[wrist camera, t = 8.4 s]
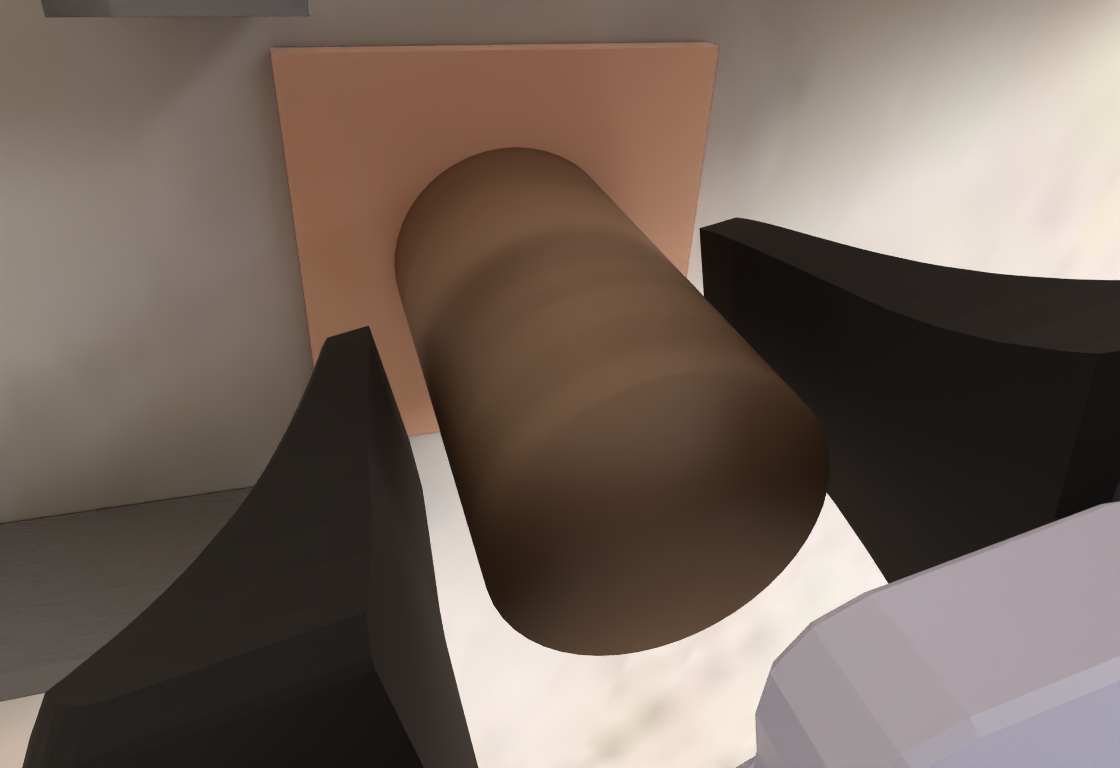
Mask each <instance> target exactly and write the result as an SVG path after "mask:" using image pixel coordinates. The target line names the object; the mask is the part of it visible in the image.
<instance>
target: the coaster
mask: <svg viewBox="0 0 1120 768" xmlns="http://www.w3.org/2000/svg"><path fill="white" fill-rule="evenodd" d="M718 52H719V47H718V46H716V45H714V44H712V43H710V42H669V43H590V44H512V45H434V46H356V47H277V48H270V53H271V60H272V68H273V75H274V82H275V89H276V97H277V104H278V111H279V118H280V126H281V133H282V140H283V147H284V155H285V162H286V169H287V176H288V184H289V191H290V198H291V205H292V212H293V220H294V227H295V234H296V241H297V249H298V256H299V263H300V270H301V278H302V285H303V292H304V299H305V307H306V314H307V321H308V328H309V336H310V343H311V350H312V357H313V365H314V367H315V365H316V362H317V359H318V356H319V354H320V351H321V348H322V346H323V344H324V342H325V340H326V339H327V338H328V337H331V336H335V335H338V334H341V333H345V332H348V331H352V330H355V329H358V328H362V327H365V326H369V327H370V330H371V333H372V336H373V339H374V341H375V344H376V347H377V350H378V353H379V355H380V358H381V361H382V364H383V367H384V370H385V372H386V375H387V378H388V381H389V384H390V386H391V389H392V392H393V395H394V398H395V401H396V403H397V406H398V409H399V412H400V415H401V418H402V420H403V423H404V426H405V429H406V432H407V435H408V436H414V435H422V434H429V433H436V432H440V430H439V426H438V423H437V420H436V416H435V413H434V409H433V406H432V403H431V399H430V396H429V393H428V389H427V386H426V382H425V379H424V376H423V372H422V369H421V366H420V362H419V359H418V355H417V352H416V349H415V345H414V342H413V338H412V335H411V332H410V328H409V325H408V322H407V318H406V315H405V311H404V308H403V305H402V301H401V298H400V295H399V291H398V287H397V283H396V277H395V266H394V263H395V249H396V244H397V239H398V235H399V232H400V229H401V226H402V223H403V221H404V219H405V217H406V215H407V213H408V211H409V209H410V207H411V206H412V204H413V203H414V202H415V200H416V199H417V197H418V196H419V194H420V193H421V192H422V191H423V190H424V189H425V188H426V187H427V186H428V184H429V183H430V182H432V181H433V180H434V179H435V178H436V177H437V176H439V175H440V174H441V173H442V172H444V171H445V170H447V169H448V168H450V167H451V166H453V165H454V164H456V163H458V162H460V161H462V160H464V159H466V158H468V157H470V156H473V155H476V154H479V153H482V152H485V151H490V150H495V149H500V148H512V147H521V148H533V149H538V150H543V151H547V152H550V153H553V154H556V155H558V156H561V157H563V158H565V159H567V160H568V161H570V162H572V163H574V164H575V165H577V166H578V167H579V168H581V169H582V170H583V171H585V172H586V173H587V174H588V175H589V176H590V177H591V178H592V179H593V180H594V181H595V182H596V183H597V184H598V186H599V187H600V188H601V189H602V190H603V191H604V192H605V193H606V194H607V195H608V196H609V197H610V198H611V199H612V200H613V201H614V202H615V203H616V204H617V206H618V207H619V208H620V209H621V210H622V211H623V212H624V213H625V214H626V215H627V216H628V217H629V218H630V219H631V220H632V221H633V222H634V223H635V225H636V226H637V227H638V228H639V229H640V230H641V231H642V232H643V233H644V234H645V235H646V236H647V237H648V238H649V239H650V240H651V241H652V242H653V244H654V245H655V246H656V247H657V248H658V249H659V250H660V251H661V252H662V253H663V254H664V255H665V256H666V257H667V258H668V259H669V260H670V261H671V262H672V264H673V265H674V266H675V267H676V268H677V269H678V270H679V271H680V272H681V273H682V274H683V275H684V276H685V277H686V278H687V271H688V264H689V257H690V250H691V243H692V236H693V229H694V222H695V214H696V207H697V200H698V193H699V186H700V179H701V172H702V165H703V158H704V151H705V144H706V137H707V130H708V123H709V116H710V109H711V101H712V94H713V87H714V80H715V73H716V66H717V59H718Z"/></svg>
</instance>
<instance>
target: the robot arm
mask: <svg viewBox="0 0 1120 768" xmlns="http://www.w3.org/2000/svg"><path fill="white" fill-rule="evenodd" d="M700 243H701V258H702V273H703V288H704V297H705V298H706V299H707V300H708V302H709V303H710V304H711V305H712V306H713V307H714V308H715V309H716V310H717V311H718V312H719V313H720V314H721V315H722V316H723V317H724V318H725V319H726V320H727V322H728V323H729V324H730V325H731V326H732V327H733V328H734V329H735V330H736V331H737V332H738V333H739V334H740V335H741V336H742V337H743V338H744V339H745V341H746V342H747V343H748V344H749V345H750V346H751V347H752V348H753V349H754V350H755V351H756V352H757V353H758V354H759V355H760V356H761V357H762V358H763V360H764V361H765V362H766V363H767V364H768V365H769V366H770V367H771V368H772V369H773V370H774V371H775V372H776V373H777V374H778V375H779V376H780V377H781V379H782V380H783V381H784V382H785V383H786V384H787V385H788V386H789V387H790V388H791V389H792V390H793V391H794V392H795V393H796V394H797V395H798V396H799V397H800V399H801V400H802V401H803V402H804V403H805V404H806V405H807V406H808V407H809V408H810V409H811V411H812V412H813V414H814V415H815V417H816V418H817V420H818V421H819V423H820V425H821V428H822V430H823V432H824V435H825V437H826V441H827V446H828V450H829V461H830V474H829V482H828V489H827V494H828V495H829V496H830V497H831V499H832V500H833V501H834V503H835V504H836V505H837V507H838V508H839V510H840V511H841V513H842V514H843V516H844V517H845V519H846V520H847V521H848V523H849V524H850V526H851V527H852V529H853V530H854V532H855V533H856V535H857V536H858V538H859V539H860V540H861V542H862V543H863V545H864V546H865V548H866V549H867V551H868V552H869V554H870V555H871V557H872V559H873V560H874V562H875V563H876V565H877V566H878V568H879V569H880V571H881V573H882V574H883V576H884V577H885V579H886V580H887V582H888V583H889V584H887V585H884V586H881V587H879V588H876V589H873V590H871V591H868V592H865V593H863V594H861V595H859V596H857V597H856V598H854V599H852V600H850V601H848V602H847V603H845V604H843V605H841V606H840V607H838V608H836V609H834V610H832V611H831V612H829V613H827V614H825V615H823V616H822V617H820V618H818V619H816V620H814V621H813V622H811V623H810V624H809V625H808V626H807V627H806V628H805V629H804V630H803V631H802V632H801V634H800V635H799V636H798V637H797V638H796V639H795V640H794V641H793V642H792V643H791V644H790V645H789V646H788V647H787V648H786V649H785V650H784V651H783V652H782V653H781V654H780V655H779V656H778V658H777V659H776V660H775V661H774V662H773V664H772V667H771V670H770V673H769V675H768V678H767V681H766V684H765V687H764V690H763V693H762V696H761V699H760V702H759V705H758V707H757V710H756V713H755V716H756V744H757V752H756V756H755V757H753V758H751V759H749V760H748V761H746V762H744V763H743V764H741V765H739V766H738V767H736V768H1120V280H1078V279H1059V278H1044V277H1029V276H1015V275H1005V274H995V273H987V272H980V271H973V270H966V269H959V268H951V267H944V266H939V265H933V264H927V263H922V262H917V261H912V260H908V259H903V258H898V257H894V256H889V255H884V254H880V253H876V252H872V251H868V250H863V249H859V248H855V247H852V246H848V245H844V244H840V243H837V242H833V241H829V240H825V239H822V238H818V237H815V236H811V235H808V234H804V233H800V232H797V231H793V230H790V229H786V228H782V227H779V226H775V225H771V224H767V223H763V222H759V221H754V220H749V219H743V218H733V219H730V220H726V221H723V222H720V223H716V224H713V225H709V226H706V227H703V228H700ZM22 768H478V765H477V761H476V758H475V754H474V750H473V746H472V742H471V738H470V734H469V731H468V727H467V723H466V719H465V715H464V711H463V707H462V704H461V700H460V696H459V692H458V688H457V684H456V680H455V676H454V672H453V668H452V664H451V660H450V656H449V652H448V648H447V644H446V640H445V636H444V630H443V625H442V620H441V615H440V609H439V602H438V595H437V588H436V580H435V573H434V566H433V559H432V552H431V545H430V538H429V531H428V524H427V517H426V510H425V503H424V497H423V490H422V486H421V482H420V478H419V475H418V471H417V467H416V463H415V460H414V456H413V453H412V449H411V445H410V442H409V438H408V435H407V432H406V429H405V426H404V423H403V420H402V418H401V415H400V412H399V409H398V406H397V403H396V401H395V398H394V395H393V392H392V389H391V386H390V384H389V381H388V378H387V375H386V372H385V370H384V367H383V364H382V361H381V358H380V355H379V353H378V350H377V347H376V344H375V341H374V339H373V336H372V333H371V330H370V327H369V326H365V327H362V328H358V329H355V330H352V331H348V332H345V333H341V334H338V335H335V336H331V337H328V338H327V339H326V340H325V342H324V344H323V346H322V348H321V351H320V354H319V356H318V359H317V362H316V365H315V367H314V370H313V373H312V375H311V378H310V380H309V383H308V385H307V388H306V390H305V392H304V395H303V397H302V399H301V401H300V403H299V406H298V408H297V410H296V412H295V414H294V416H293V419H292V421H291V423H290V425H289V427H288V429H287V431H286V433H285V435H284V436H283V438H282V440H281V442H280V444H279V445H278V447H277V449H276V451H275V453H274V455H273V456H272V458H271V460H270V462H269V464H268V465H267V467H266V469H265V470H264V472H263V474H262V475H261V477H260V478H259V480H258V482H257V483H256V485H255V486H254V488H253V489H252V490H251V492H250V493H249V495H248V496H247V497H246V499H245V500H244V501H243V503H242V504H241V506H240V507H239V508H238V510H237V511H236V512H235V514H234V515H233V516H232V517H231V519H230V520H229V521H228V522H227V523H226V525H225V526H224V527H223V528H222V529H221V530H220V531H219V533H218V534H217V535H216V536H215V537H214V538H213V540H212V541H211V542H210V543H209V544H208V545H207V547H206V548H205V549H204V550H203V551H202V552H201V554H200V555H199V556H198V557H197V558H196V559H195V561H194V562H193V563H192V564H191V565H190V566H189V567H188V568H187V569H186V570H185V571H184V572H183V573H182V574H181V575H180V576H179V577H178V578H177V579H176V580H175V581H174V582H173V583H172V584H171V585H170V586H169V587H168V588H167V589H166V590H165V591H164V592H163V593H162V594H161V595H160V596H159V597H158V598H157V599H156V600H155V601H154V602H153V603H152V604H151V605H150V606H148V607H147V608H146V609H145V610H144V611H143V612H142V613H141V614H140V615H139V616H138V617H137V618H136V619H134V620H133V621H132V622H131V623H130V624H129V625H128V626H127V627H125V628H124V629H123V630H122V631H121V632H120V633H119V634H117V635H116V636H115V637H114V638H112V639H111V640H110V641H109V642H108V643H106V644H105V645H104V646H103V647H101V648H100V649H99V650H98V651H96V652H95V653H94V654H93V655H92V656H90V657H89V658H88V659H87V660H85V661H84V662H83V663H82V664H81V665H79V666H78V667H77V668H76V669H74V670H73V671H72V672H71V673H69V674H68V675H67V676H66V677H65V678H63V679H62V680H61V681H59V682H58V683H57V684H55V685H54V686H53V687H52V688H50V689H49V690H48V691H46V692H45V695H44V698H43V701H42V704H41V707H40V710H39V713H38V716H37V719H36V722H35V725H34V727H33V730H32V733H31V736H30V740H29V744H28V747H27V751H26V755H25V759H24V763H23V767H22Z"/></svg>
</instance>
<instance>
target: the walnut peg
mask: <svg viewBox="0 0 1120 768" xmlns="http://www.w3.org/2000/svg"><path fill="white" fill-rule="evenodd" d="M394 266H395V277H396V283H397V287H398V291H399V295H400V298H401V301H402V305H403V308H404V311H405V315H406V318H407V322H408V325H409V328H410V332H411V335H412V338H413V342H414V345H415V349H416V352H417V355H418V359H419V362H420V366H421V369H422V372H423V376H424V379H425V382H426V386H427V389H428V393H429V396H430V399H431V403H432V406H433V409H434V413H435V416H436V420H437V423H438V426H439V430H440V433H441V436H442V440H443V443H444V447H445V450H446V453H447V457H448V460H449V463H450V467H451V470H452V474H453V477H454V480H455V484H456V487H457V490H458V494H459V497H460V501H461V504H462V507H463V511H464V514H465V518H466V521H467V524H468V528H469V531H470V534H471V538H472V541H473V545H474V548H475V551H476V555H477V558H478V561H479V565H480V568H481V572H482V575H483V578H484V582H485V585H486V588H487V591H488V593H489V596H490V598H491V600H492V602H493V605H494V606H495V608H496V609H497V610H498V612H499V613H500V615H501V616H502V618H503V619H504V620H505V621H506V622H507V623H508V624H509V625H510V626H511V627H512V628H513V629H515V630H516V631H517V632H519V633H520V634H522V635H523V636H525V637H526V638H528V639H529V640H532V641H534V642H536V643H538V644H540V645H542V646H544V647H548V648H551V649H554V650H557V651H561V652H566V653H572V654H578V655H593V656H605V655H621V654H628V653H635V652H640V651H644V650H649V649H653V648H657V647H661V646H664V645H667V644H670V643H673V642H676V641H679V640H681V639H684V638H686V637H689V636H691V635H693V634H696V633H698V632H700V631H702V630H704V629H706V628H708V627H710V626H712V625H714V624H716V623H718V622H719V621H721V620H722V619H724V618H726V617H727V616H729V615H731V614H732V613H734V612H735V611H737V610H738V609H740V608H741V607H742V606H744V605H745V604H747V603H748V602H749V601H751V600H752V599H753V598H754V597H756V596H757V595H758V594H759V593H760V592H761V591H763V590H764V589H765V588H766V587H767V586H768V585H769V584H770V583H771V582H772V581H773V580H774V579H775V578H776V577H777V576H778V575H779V574H780V573H781V572H782V571H783V570H784V569H785V568H786V567H787V565H788V564H789V563H790V562H791V561H792V559H793V558H794V557H795V556H796V554H797V553H798V552H799V550H800V549H801V547H802V546H803V544H804V543H805V541H806V540H807V538H808V536H809V535H810V533H811V531H812V529H813V527H814V525H815V524H816V521H817V519H818V517H819V514H820V512H821V509H822V507H823V504H824V500H825V496H826V493H827V489H828V482H829V474H830V461H829V450H828V446H827V441H826V437H825V435H824V432H823V430H822V428H821V425H820V423H819V421H818V420H817V418H816V417H815V415H814V414H813V412H812V411H811V409H810V408H809V407H808V406H807V405H806V404H805V403H804V402H803V401H802V400H801V399H800V397H799V396H798V395H797V394H796V393H795V392H794V391H793V390H792V389H791V388H790V387H789V386H788V385H787V384H786V383H785V382H784V381H783V380H782V379H781V377H780V376H779V375H778V374H777V373H776V372H775V371H774V370H773V369H772V368H771V367H770V366H769V365H768V364H767V363H766V362H765V361H764V360H763V358H762V357H761V356H760V355H759V354H758V353H757V352H756V351H755V350H754V349H753V348H752V347H751V346H750V345H749V344H748V343H747V342H746V341H745V339H744V338H743V337H742V336H741V335H740V334H739V333H738V332H737V331H736V330H735V329H734V328H733V327H732V326H731V325H730V324H729V323H728V322H727V320H726V319H725V318H724V317H723V316H722V315H721V314H720V313H719V312H718V311H717V310H716V309H715V308H714V307H713V306H712V305H711V304H710V303H709V302H708V300H707V299H706V298H705V297H704V296H703V295H702V294H701V293H700V292H699V291H698V290H697V289H696V288H695V287H694V286H693V285H692V284H691V283H690V281H689V280H688V279H687V278H686V277H685V276H684V275H683V274H682V273H681V272H680V271H679V270H678V269H677V268H676V267H675V266H674V265H673V264H672V262H671V261H670V260H669V259H668V258H667V257H666V256H665V255H664V254H663V253H662V252H661V251H660V250H659V249H658V248H657V247H656V246H655V245H654V244H653V242H652V241H651V240H650V239H649V238H648V237H647V236H646V235H645V234H644V233H643V232H642V231H641V230H640V229H639V228H638V227H637V226H636V225H635V223H634V222H633V221H632V220H631V219H630V218H629V217H628V216H627V215H626V214H625V213H624V212H623V211H622V210H621V209H620V208H619V207H618V206H617V204H616V203H615V202H614V201H613V200H612V199H611V198H610V197H609V196H608V195H607V194H606V193H605V192H604V191H603V190H602V189H601V188H600V187H599V186H598V184H597V183H596V182H595V181H594V180H593V179H592V178H591V177H590V176H589V175H588V174H587V173H586V172H585V171H583V170H582V169H581V168H579V167H578V166H577V165H575V164H574V163H572V162H570V161H568V160H567V159H565V158H563V157H561V156H558V155H556V154H553V153H550V152H547V151H543V150H538V149H533V148H521V147H512V148H500V149H495V150H490V151H485V152H482V153H479V154H476V155H473V156H470V157H468V158H466V159H464V160H462V161H460V162H458V163H456V164H454V165H453V166H451V167H450V168H448V169H447V170H445V171H444V172H442V173H441V174H440V175H439V176H437V177H436V178H435V179H434V180H433V181H432V182H430V183H429V184H428V186H427V187H426V188H425V189H424V190H423V191H422V192H421V193H420V194H419V196H418V197H417V199H416V200H415V202H414V203H413V204H412V206H411V207H410V209H409V211H408V213H407V215H406V217H405V219H404V221H403V223H402V226H401V229H400V232H399V235H398V239H397V244H396V249H395V263H394Z"/></svg>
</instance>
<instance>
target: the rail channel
mask: <svg viewBox="0 0 1120 768" xmlns="http://www.w3.org/2000/svg"><path fill="white" fill-rule="evenodd" d="M41 2H42V5H43V9H44V13H45V16H46V17H243V16H309V9H308V0H41ZM253 488H254V487H251V488H244V489H238V490H231V491H224V492H217V493H210V494H204V495H197V496H190V497H183V498H176V499H170V500H163V501H156V502H149V503H142V504H136V505H129V506H122V507H115V508H108V509H101V510H95V511H88V512H81V513H74V514H67V515H61V516H54V517H47V518H40V519H33V520H27V521H20V522H13V523H6V524H0V702H1V701H6V700H11V699H16V698H21V697H26V696H31V695H36V694H41V693H45V692H46V691H48V690H49V689H50V688H52V687H53V686H54V685H55V684H57V683H58V682H59V681H61V680H62V679H63V678H65V677H66V676H67V675H68V674H69V673H71V672H72V671H73V670H74V669H76V668H77V667H78V666H79V665H81V664H82V663H83V662H84V661H85V660H87V659H88V658H89V657H90V656H92V655H93V654H94V653H95V652H96V651H98V650H99V649H100V648H101V647H103V646H104V645H105V644H106V643H108V642H109V641H110V640H111V639H112V638H114V637H115V636H116V635H117V634H119V633H120V632H121V631H122V630H123V629H124V628H125V627H127V626H128V625H129V624H130V623H131V622H132V621H133V620H134V619H136V618H137V617H138V616H139V615H140V614H141V613H142V612H143V611H144V610H145V609H146V608H147V607H148V606H150V605H151V604H152V603H153V602H154V601H155V600H156V599H157V598H158V597H159V596H160V595H161V594H162V593H163V592H164V591H165V590H166V589H167V588H168V587H169V586H170V585H171V584H172V583H173V582H174V581H175V580H176V579H177V578H178V577H179V576H180V575H181V574H182V573H183V572H184V571H185V570H186V569H187V568H188V567H189V566H190V565H191V564H192V563H193V562H194V561H195V559H196V558H197V557H198V556H199V555H200V554H201V552H202V551H203V550H204V549H205V548H206V547H207V545H208V544H209V543H210V542H211V541H212V540H213V538H214V537H215V536H216V535H217V534H218V533H219V531H220V530H221V529H222V528H223V527H224V526H225V525H226V523H227V522H228V521H229V520H230V519H231V517H232V516H233V515H234V514H235V512H236V511H237V510H238V508H239V507H240V506H241V504H242V503H243V501H244V500H245V499H246V497H247V496H248V495H249V493H250V492H251V490H252V489H253Z"/></svg>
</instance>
